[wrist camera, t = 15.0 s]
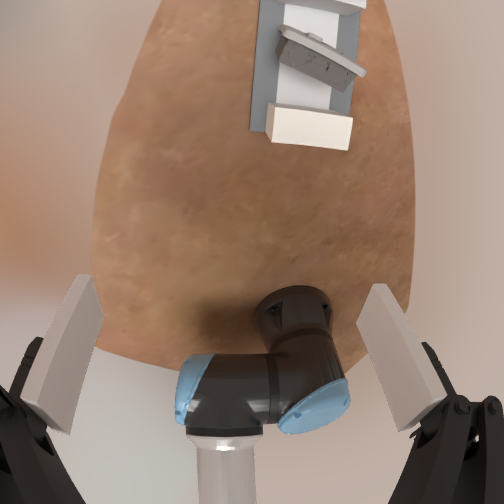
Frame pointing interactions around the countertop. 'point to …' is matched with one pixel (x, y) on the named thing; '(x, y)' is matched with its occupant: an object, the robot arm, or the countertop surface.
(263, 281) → the countertop surface
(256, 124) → the rail plate
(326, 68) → the electrical switch
